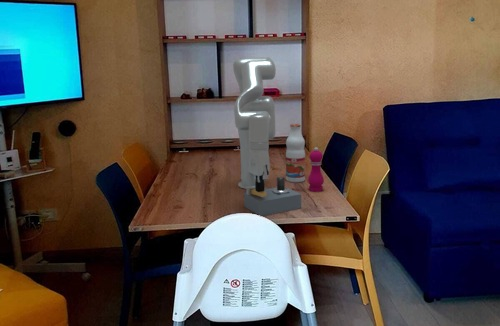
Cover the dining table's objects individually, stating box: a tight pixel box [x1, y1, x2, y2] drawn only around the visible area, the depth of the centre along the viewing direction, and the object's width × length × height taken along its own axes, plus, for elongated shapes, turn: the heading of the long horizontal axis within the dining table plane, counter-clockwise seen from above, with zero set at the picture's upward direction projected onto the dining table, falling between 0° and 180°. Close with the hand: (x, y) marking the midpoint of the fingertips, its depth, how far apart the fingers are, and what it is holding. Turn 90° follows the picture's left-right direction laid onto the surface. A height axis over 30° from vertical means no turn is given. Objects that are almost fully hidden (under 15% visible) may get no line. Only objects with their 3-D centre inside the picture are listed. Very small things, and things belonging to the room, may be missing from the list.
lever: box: [250, 189, 266, 197], centre depth 195 cm, size 11×2×2 cm, turn 27°
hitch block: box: [243, 186, 302, 217], centre depth 199 cm, size 14×19×8 cm
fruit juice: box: [285, 123, 306, 183], centre depth 236 cm, size 9×9×28 cm
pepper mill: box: [307, 147, 325, 193], centre depth 220 cm, size 7×7×20 cm
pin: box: [273, 176, 290, 195], centre depth 200 cm, size 6×6×12 cm
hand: (260, 190), depth 192 cm, fingers closed
